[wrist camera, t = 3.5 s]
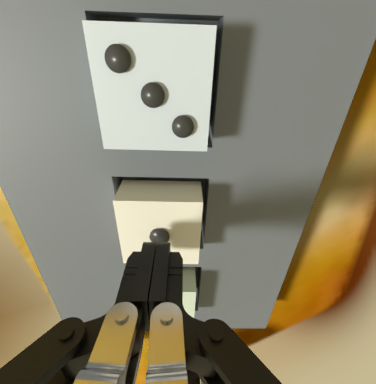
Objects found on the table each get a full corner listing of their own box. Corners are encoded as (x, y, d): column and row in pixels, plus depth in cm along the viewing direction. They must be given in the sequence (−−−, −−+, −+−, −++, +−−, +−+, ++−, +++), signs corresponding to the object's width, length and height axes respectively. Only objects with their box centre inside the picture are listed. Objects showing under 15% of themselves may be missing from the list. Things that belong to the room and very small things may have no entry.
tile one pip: (122, 179, 15) (111, 202, 12) (200, 181, 15) (203, 204, 13) (130, 238, 17) (122, 265, 15) (196, 239, 17) (198, 266, 15)
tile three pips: (102, 26, 10) (79, 19, 8) (210, 30, 11) (217, 24, 8) (116, 133, 13) (102, 150, 11) (203, 136, 13) (207, 152, 11)
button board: (-57, -68, 11) (-134, -105, 8) (366, -49, 11) (420, -79, 9) (77, 299, 25) (65, 327, 23) (257, 300, 26) (265, 328, 23)
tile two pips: (134, 265, 19) (127, 293, 17) (195, 266, 19) (196, 294, 17) (139, 302, 21) (134, 330, 19) (192, 302, 22) (193, 331, 19)
